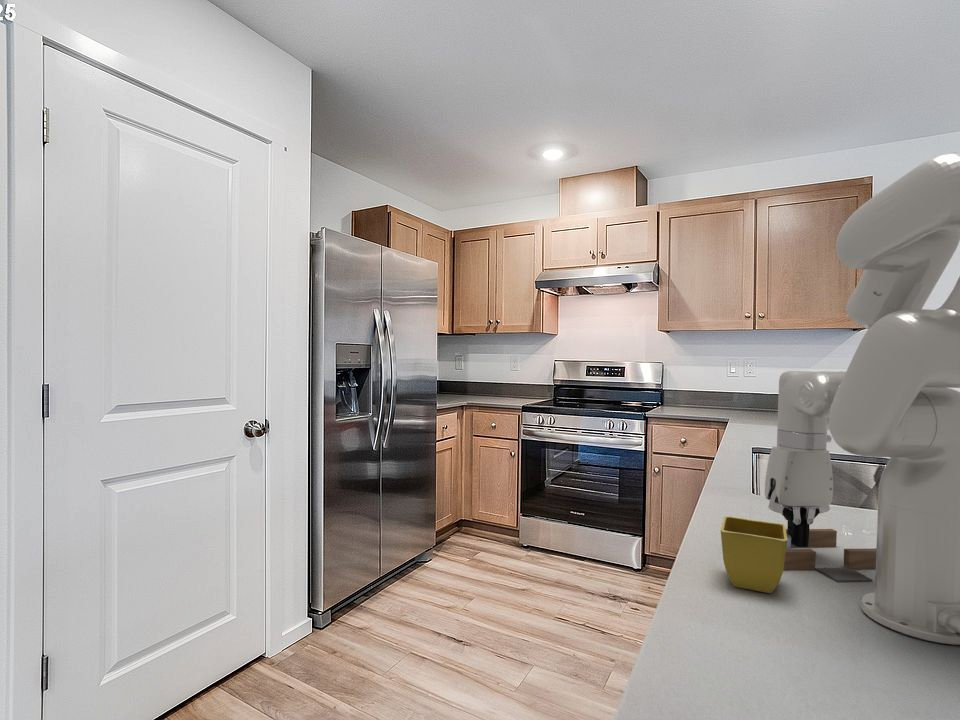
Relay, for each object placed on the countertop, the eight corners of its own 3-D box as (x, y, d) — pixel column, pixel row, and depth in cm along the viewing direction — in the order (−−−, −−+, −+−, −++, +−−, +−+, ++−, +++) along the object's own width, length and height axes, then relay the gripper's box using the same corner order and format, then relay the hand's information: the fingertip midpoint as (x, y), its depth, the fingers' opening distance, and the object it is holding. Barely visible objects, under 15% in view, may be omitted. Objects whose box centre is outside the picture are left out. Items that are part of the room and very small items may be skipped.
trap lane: (907, 580, 86) (908, 555, 86) (782, 582, 84) (782, 557, 84) (813, 536, 107) (814, 515, 107) (711, 536, 105) (711, 516, 104)
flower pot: (718, 589, 81) (720, 529, 81) (722, 569, 89) (723, 514, 88) (785, 603, 77) (787, 540, 77) (783, 581, 84) (785, 524, 84)
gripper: (825, 438, 99) (821, 537, 100) (748, 437, 98) (745, 537, 98) (857, 445, 92) (853, 552, 92) (774, 444, 90) (771, 553, 91)
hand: (797, 544), depth 95 cm, fingers closed
